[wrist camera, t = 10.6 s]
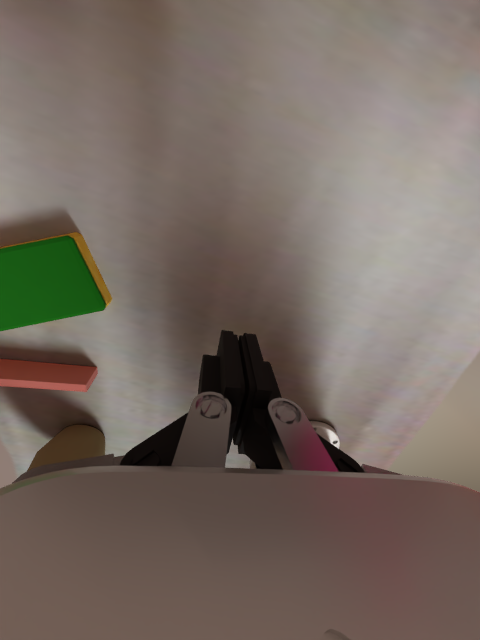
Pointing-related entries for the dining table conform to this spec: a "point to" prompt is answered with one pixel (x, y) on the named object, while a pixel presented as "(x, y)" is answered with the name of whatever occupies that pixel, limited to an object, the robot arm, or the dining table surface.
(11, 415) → the dining table surface
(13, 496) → the robot arm
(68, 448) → the squeeze bottle
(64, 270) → the dish sponge
